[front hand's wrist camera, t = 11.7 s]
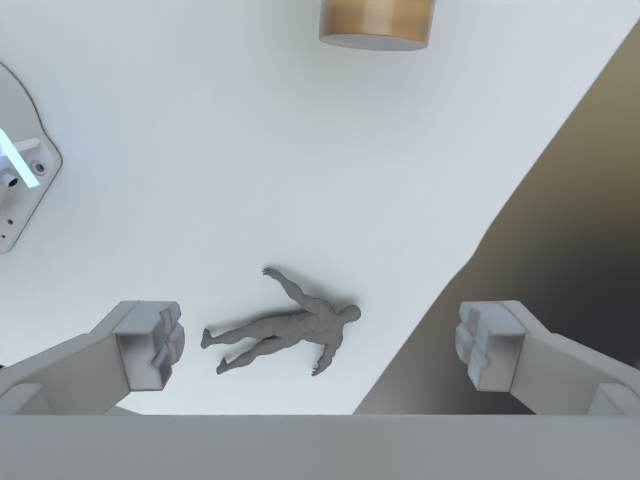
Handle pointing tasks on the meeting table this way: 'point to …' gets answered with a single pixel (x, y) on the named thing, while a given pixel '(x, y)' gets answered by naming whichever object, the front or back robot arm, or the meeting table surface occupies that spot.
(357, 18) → the rod
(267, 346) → the figurine
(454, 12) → the meeting table surface
